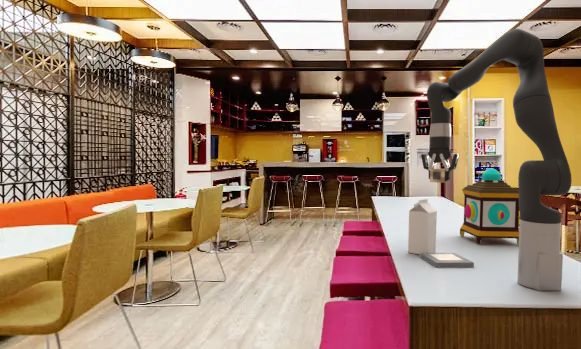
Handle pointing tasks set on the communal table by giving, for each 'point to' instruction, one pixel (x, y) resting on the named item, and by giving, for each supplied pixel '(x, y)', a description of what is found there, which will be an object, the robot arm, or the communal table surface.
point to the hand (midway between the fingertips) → (439, 180)
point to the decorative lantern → (491, 208)
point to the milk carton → (422, 228)
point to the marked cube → (437, 175)
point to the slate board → (446, 260)
